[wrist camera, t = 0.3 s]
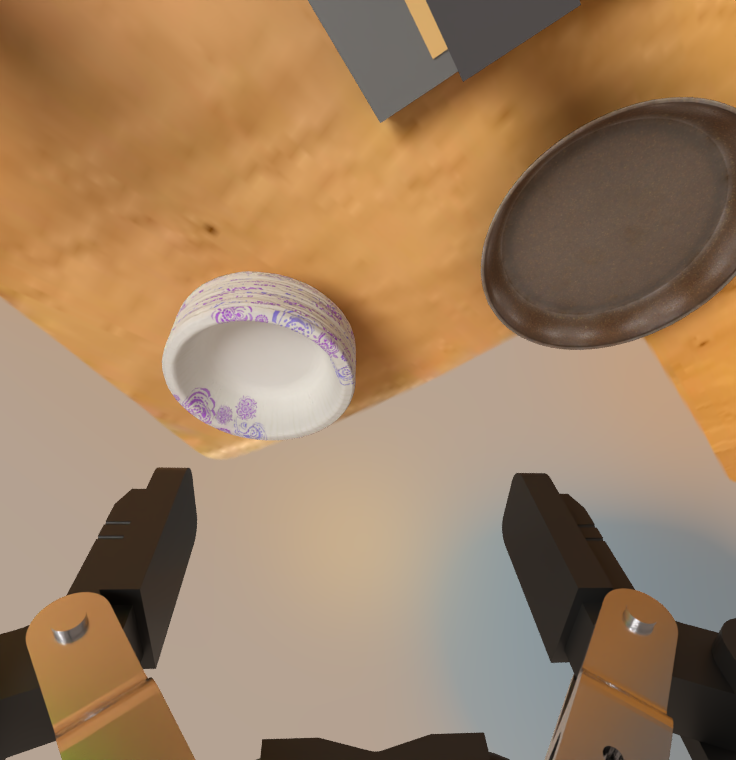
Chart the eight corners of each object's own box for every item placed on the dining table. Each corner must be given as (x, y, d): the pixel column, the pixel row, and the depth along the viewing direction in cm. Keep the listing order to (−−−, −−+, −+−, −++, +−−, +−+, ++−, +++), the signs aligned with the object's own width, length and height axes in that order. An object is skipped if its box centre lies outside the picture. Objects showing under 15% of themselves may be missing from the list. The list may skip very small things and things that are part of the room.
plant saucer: (780, 242, 42) (805, 265, 40) (543, 361, 51) (552, 385, 49) (715, 1, 31) (744, 14, 28) (423, 210, 40) (427, 232, 37)
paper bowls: (178, 363, 51) (156, 427, 45) (190, 225, 40) (163, 287, 35) (331, 394, 54) (328, 457, 48) (378, 275, 44) (381, 338, 38)
